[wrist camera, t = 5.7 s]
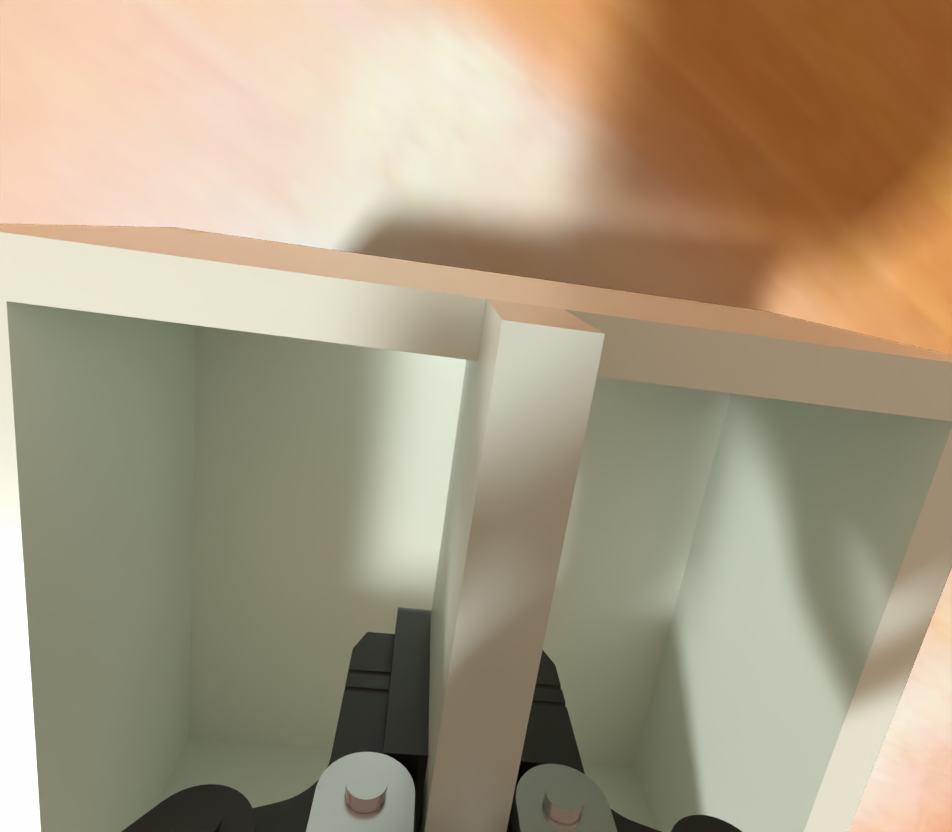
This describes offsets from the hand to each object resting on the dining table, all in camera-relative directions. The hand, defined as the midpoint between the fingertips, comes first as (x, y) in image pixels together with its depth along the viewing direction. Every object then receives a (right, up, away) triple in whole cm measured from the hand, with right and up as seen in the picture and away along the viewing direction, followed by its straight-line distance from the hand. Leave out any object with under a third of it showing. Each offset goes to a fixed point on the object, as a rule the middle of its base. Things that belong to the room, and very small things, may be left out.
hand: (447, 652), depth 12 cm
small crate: (0, +1, +4) cm, 5 cm away
